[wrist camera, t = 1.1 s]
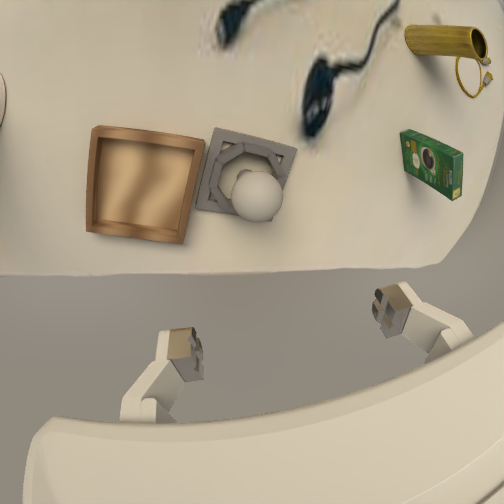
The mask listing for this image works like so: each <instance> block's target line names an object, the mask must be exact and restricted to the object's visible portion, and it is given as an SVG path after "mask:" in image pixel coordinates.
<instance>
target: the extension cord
mask: <svg viewBox="0 0 504 504" xmlns="http://www.w3.org/2000/svg"><path fill="white" fill-rule="evenodd" d="M459 58H460V57H457V58H456V77H457V80H458V83H459V85H460V87H461V88H462V90H463V91H464V92H465V93H466V94H467V95H469V96H470V97H472V98H475V97H476V96H478V94H479V93H480V92H481V90H482V89H483V87H484V85H485V86H488V84H489V83H490V81H491V80H493V78H492V75H491V73H489V72H487V73H486V74H485V77H484V80H483V86H482V88H481V67H480V64H479V62H478V60H477V59H476V60H477V62H478V64H479V67H480V87H479V91H478V93H477V94H476V95H475V96H472V95H470V94H469V93H468V92H467V91H466V90H465V88H464V87H463V85H462V83H461V80H460V77H459V74H458V61H459ZM480 63H483V64H490V63H491V60H490V58H486V59H485V60H480ZM480 88H481V89H480Z"/></svg>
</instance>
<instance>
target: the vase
mask: <svg viewBox="0 0 504 504" xmlns="http://www.w3.org/2000/svg"><path fill="white" fill-rule="evenodd" d="M405 38H406V42H407V44H408V46H409V48H410V49H411V50H412V51H413V52H414V53H415V54H417V55H441V56H456V57H465V58H472V59H478V60H485V59H486V58H487V54H488V47H487V42H486V39H485V37H484V35H483V33H482V32H481V31H480V30H479V29H478V28H476V27H464V26H448V25H409V26H408V27H407V28H406V31H405Z"/></svg>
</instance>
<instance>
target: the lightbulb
mask: <svg viewBox="0 0 504 504" xmlns="http://www.w3.org/2000/svg"><path fill="white" fill-rule="evenodd" d="M231 200H232V204H233V207H234V209H235V211H236V212H237V213H238V214H239V215H240V216H241V217H242V218H244V219H246V220H248V221H251V222H263V221H266V220H268V219H270V218H272V217H273V216H274V215H275V214H276V213H277V212H278V211H279V209H280V207H281V205H282V201H283V193H282V189H281V186H280V184H279V183H278V181H277V180H276V179H275V178H274V177H273V176H272V175H270V174H268V173H265V172H261V171H253V172H252V171H251V170H247V169H245V170H242V171H241V172H239V174H238V176H237V181H236V183H235V184H234V186H233V189H232V194H231Z"/></svg>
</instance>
